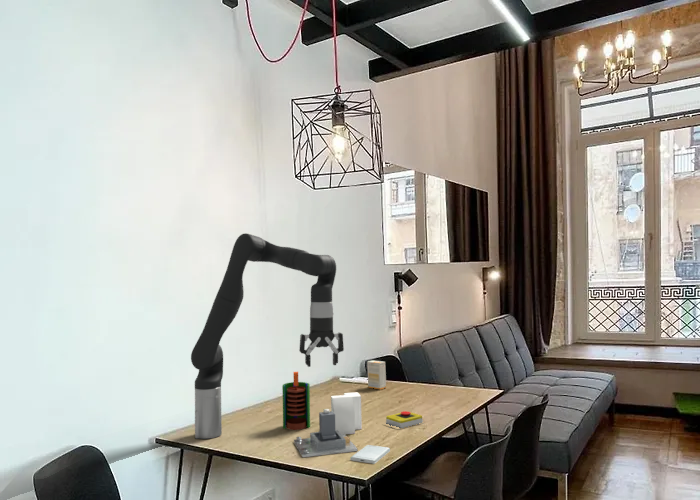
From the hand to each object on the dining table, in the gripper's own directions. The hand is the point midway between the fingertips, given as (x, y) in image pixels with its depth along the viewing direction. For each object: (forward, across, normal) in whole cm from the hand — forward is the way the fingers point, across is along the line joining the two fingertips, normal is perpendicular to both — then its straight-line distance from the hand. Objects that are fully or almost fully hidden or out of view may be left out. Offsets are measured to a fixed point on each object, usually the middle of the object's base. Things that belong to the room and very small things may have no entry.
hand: (321, 365), depth 175 cm
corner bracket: (+28, -14, -20) cm, 37 cm away
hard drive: (+28, -14, +9) cm, 32 cm away
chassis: (+27, -2, -4) cm, 28 cm away
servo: (+27, -3, -4) cm, 27 cm away
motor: (+28, +4, -30) cm, 41 cm away
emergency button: (+28, -36, -20) cm, 50 cm away
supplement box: (+28, -45, -82) cm, 97 cm away
